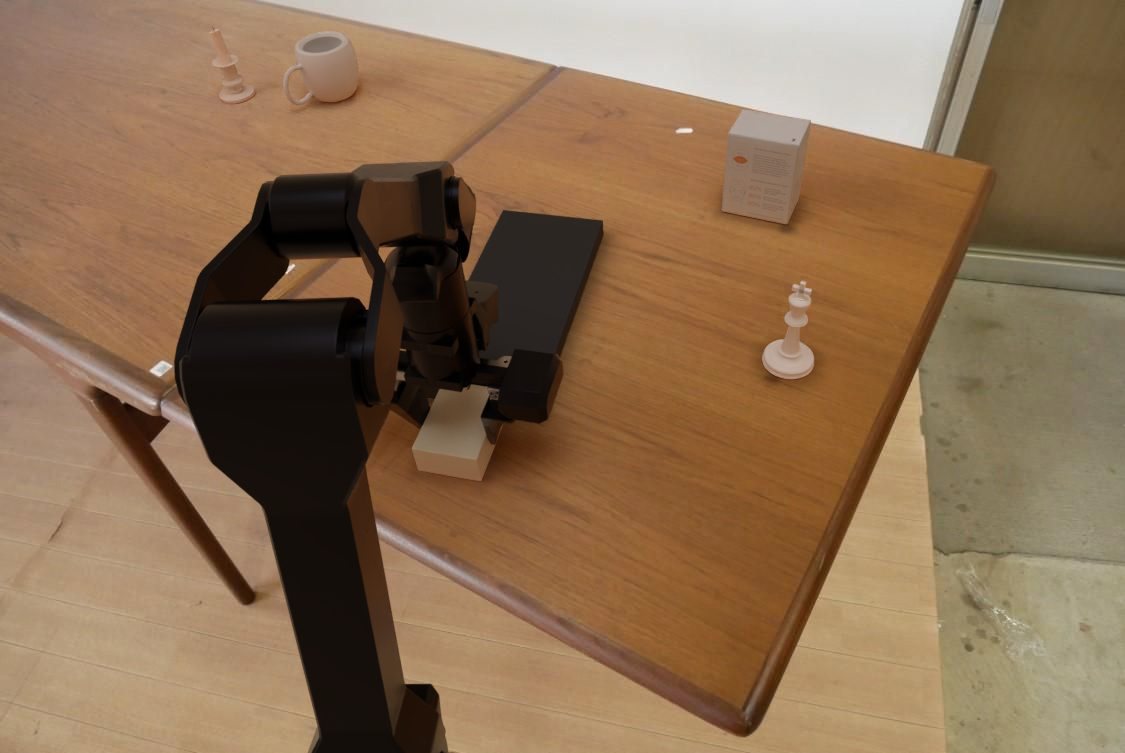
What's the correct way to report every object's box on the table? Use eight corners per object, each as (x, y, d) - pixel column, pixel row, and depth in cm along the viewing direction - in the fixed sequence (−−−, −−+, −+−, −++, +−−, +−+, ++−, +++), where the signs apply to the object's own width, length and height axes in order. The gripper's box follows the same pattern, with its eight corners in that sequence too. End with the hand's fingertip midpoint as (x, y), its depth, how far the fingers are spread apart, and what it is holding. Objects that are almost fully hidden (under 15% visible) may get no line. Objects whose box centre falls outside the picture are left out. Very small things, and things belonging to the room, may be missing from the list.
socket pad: (539, 415, 79) (537, 401, 78) (420, 396, 82) (416, 382, 80) (603, 234, 97) (603, 220, 96) (504, 223, 100) (502, 209, 98)
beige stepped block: (481, 481, 74) (476, 459, 72) (418, 470, 75) (411, 448, 73) (517, 387, 82) (514, 364, 79) (459, 378, 83) (454, 355, 81)
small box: (799, 199, 100) (813, 119, 92) (787, 226, 96) (801, 145, 89) (733, 186, 102) (742, 107, 94) (719, 212, 99) (727, 132, 91)
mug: (341, 73, 128) (327, 23, 122) (376, 90, 124) (363, 38, 118) (275, 106, 122) (257, 54, 117) (309, 125, 118) (293, 72, 112)
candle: (213, 97, 125) (186, 29, 118) (242, 83, 128) (217, 15, 120) (233, 107, 123) (207, 38, 115) (262, 92, 125) (239, 23, 118)
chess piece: (772, 337, 84) (786, 259, 77) (820, 353, 82) (839, 274, 75) (754, 369, 81) (766, 291, 74) (803, 386, 80) (821, 307, 72)
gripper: (574, 256, 68) (582, 385, 80) (364, 232, 72) (400, 359, 84) (537, 352, 61) (552, 479, 73) (306, 319, 65) (354, 445, 77)
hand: (462, 435), depth 77 cm, fingers closed on beige stepped block, 6 cm apart
